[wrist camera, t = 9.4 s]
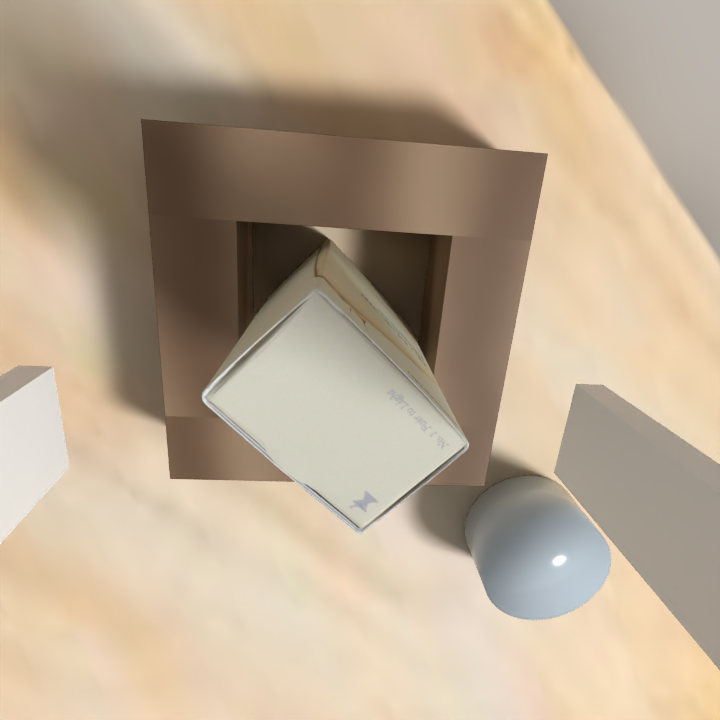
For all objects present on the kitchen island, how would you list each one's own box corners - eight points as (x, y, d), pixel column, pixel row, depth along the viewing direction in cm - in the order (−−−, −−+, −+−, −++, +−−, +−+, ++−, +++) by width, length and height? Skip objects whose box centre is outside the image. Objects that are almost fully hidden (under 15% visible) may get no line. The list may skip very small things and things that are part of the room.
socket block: (193, 436, 25) (170, 478, 22) (176, 132, 20) (141, 118, 16) (462, 444, 26) (484, 486, 23) (509, 160, 21) (547, 153, 18)
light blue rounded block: (456, 565, 30) (474, 620, 26) (473, 473, 27) (495, 517, 24) (561, 566, 30) (593, 619, 27) (586, 475, 28) (625, 520, 24)
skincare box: (410, 325, 24) (484, 448, 12) (347, 380, 25) (363, 543, 13) (325, 233, 22) (322, 279, 11) (260, 296, 23) (193, 401, 12)
